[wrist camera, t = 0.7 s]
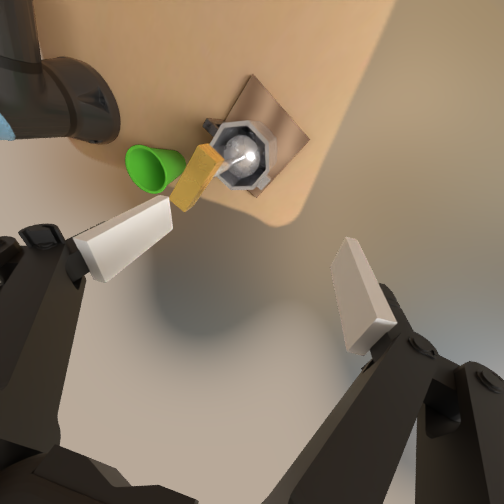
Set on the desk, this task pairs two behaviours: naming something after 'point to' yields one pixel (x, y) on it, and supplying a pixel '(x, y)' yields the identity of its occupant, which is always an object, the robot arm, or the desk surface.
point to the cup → (153, 167)
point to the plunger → (214, 168)
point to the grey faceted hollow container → (259, 135)
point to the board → (269, 124)
